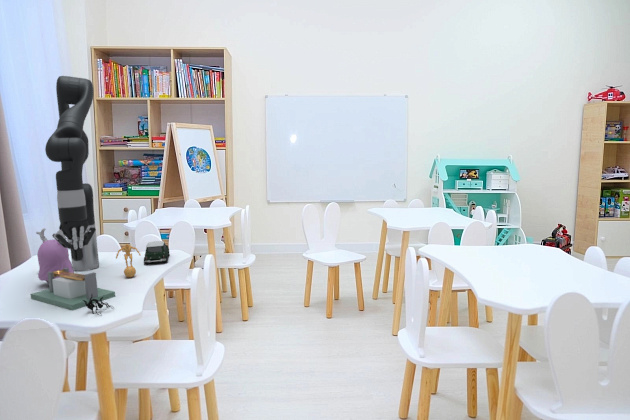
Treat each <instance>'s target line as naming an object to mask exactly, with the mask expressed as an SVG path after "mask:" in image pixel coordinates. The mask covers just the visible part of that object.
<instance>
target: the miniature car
mask: <svg viewBox="0 0 630 420" xmlns="http://www.w3.org/2000/svg"><path fill="white" fill-rule="evenodd" d="M169 257H170V248H169V245H167V244H166V243H165V241H163V240H162V241H160V240H159V241H158V240H155V241H148V243H147V244H146V248H145V254H144V257H143V264H144V266H145V264H147V265H148V263H152V262H163V263H164V264H168V263H169V259H168V258H169Z"/></svg>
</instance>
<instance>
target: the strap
mask: <svg viewBox="0 0 630 420" xmlns="http://www.w3.org/2000/svg"><path fill="white" fill-rule="evenodd" d="M77 273H78V272H74V273H71V272H65V271H64V270H63V269H62V270H58V271H54V272H53V274H54V277H57V276H59V277H65V278H70V279H75V280H80V281H84V280H85V278H84V275H85V274H84V275H82V274H83V273H79V274H77Z"/></svg>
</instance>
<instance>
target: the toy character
mask: <svg viewBox="0 0 630 420" xmlns="http://www.w3.org/2000/svg"><path fill="white" fill-rule="evenodd" d="M46 230H47V229H46V228H44V227H43V228H42V229H41V231H36V232H35V234H36V235H39V238H40V240H41V241H42V243H40V245H39V248H38V251H37V262H38V266H39V267H38V268H39V270H38V273H37V276H38V277H37V278H38V279H39V281H44V282H46V283H47V284H48V285H49V283H48V274H47V272H50V271H51V272H54V271H58V270H62V269H63V268H69V272H71V273H75V270H73V268H72V260H70V257H69V256H70V254H69V249H68V248H64V247H63V246H62V245H61V244H60V243H59V242H58V241H57V240H56V239H48V238H47V237H46V236H45V231H46ZM63 235H64V234H63ZM63 238H64V239H65V240H66V241H67V237H66V236H65V235H64V237H63ZM55 278H59V276H57V277H54V279H55Z"/></svg>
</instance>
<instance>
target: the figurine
mask: <svg viewBox="0 0 630 420" xmlns="http://www.w3.org/2000/svg"><path fill="white" fill-rule="evenodd" d="M131 249H133V250H135V251H136V252H137V254H138V255H139V256H141V253H140V251H139V249H138V248H137V247H134V246H132V245H129V244H128V243H126V244H125V245H124V246H122V248H120V249H118V250H117V253H116V256H115V259H116V260H117V259H118V256H119V254H120V252H121V251H123V250H124V252H125V253H124V255H123V256H124V260H125V264H126V267H125V269H124V271H123V273H124V276H125V277H127V278H133V277H134V276H135V275H136V273H137V270H136V268H135V267H134V266H133V264H132V263H133V253H132V252H131ZM128 258H129V259H130V262H129V263H130V266H129V264H128Z"/></svg>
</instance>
